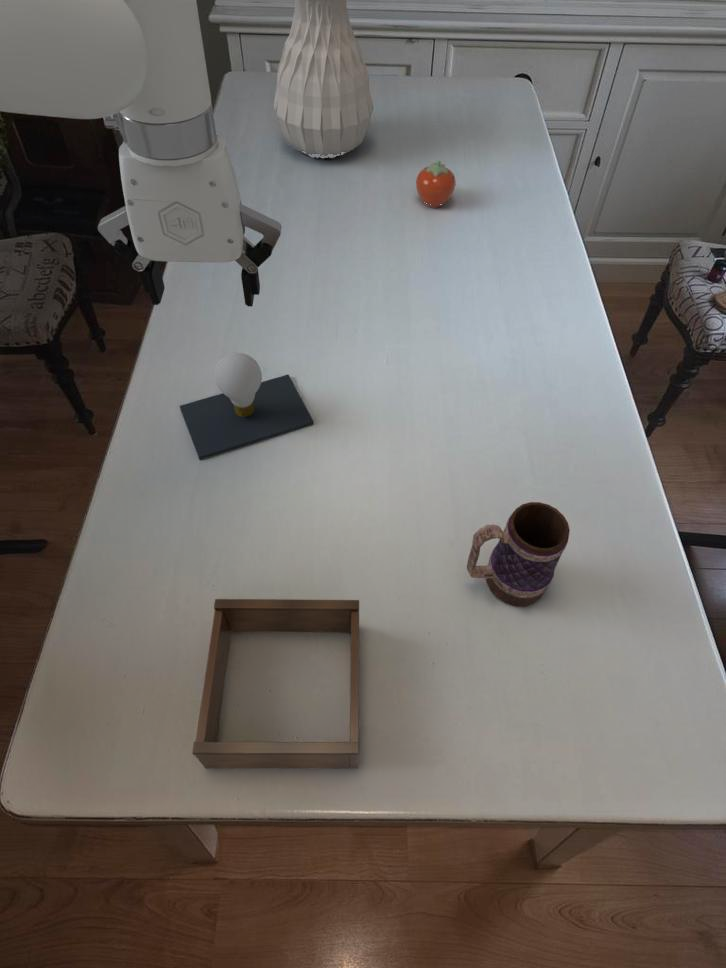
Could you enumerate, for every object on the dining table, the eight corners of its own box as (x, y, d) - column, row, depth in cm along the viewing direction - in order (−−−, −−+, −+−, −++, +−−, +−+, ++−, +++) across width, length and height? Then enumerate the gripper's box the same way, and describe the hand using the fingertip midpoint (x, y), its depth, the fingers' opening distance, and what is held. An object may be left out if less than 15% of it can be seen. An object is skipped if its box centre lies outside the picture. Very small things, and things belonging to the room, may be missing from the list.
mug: (536, 550, 75) (564, 492, 65) (553, 605, 71) (586, 551, 61) (452, 558, 74) (468, 500, 64) (464, 613, 70) (483, 560, 60)
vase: (295, 178, 125) (283, -6, 100) (264, 133, 135) (246, -43, 111) (387, 161, 130) (396, -19, 105) (350, 119, 140) (351, -53, 116)
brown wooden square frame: (204, 769, 60) (192, 753, 55) (224, 623, 69) (215, 598, 64) (357, 769, 60) (359, 753, 55) (358, 624, 69) (359, 599, 64)
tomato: (456, 211, 119) (463, 169, 112) (418, 214, 118) (422, 171, 112) (447, 191, 123) (453, 149, 117) (410, 193, 122) (414, 151, 116)
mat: (199, 460, 82) (198, 457, 81) (180, 408, 87) (179, 405, 87) (313, 424, 86) (313, 421, 86) (288, 377, 91) (288, 374, 91)
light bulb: (225, 432, 84) (213, 378, 76) (222, 401, 87) (209, 345, 79) (269, 426, 85) (261, 372, 77) (264, 395, 88) (256, 340, 80)
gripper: (53, 146, 50) (114, 319, 64) (269, 151, 51) (284, 321, 65) (77, 105, 55) (130, 275, 69) (276, 110, 55) (288, 277, 69)
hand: (204, 297), depth 67 cm, fingers open, 9 cm apart
